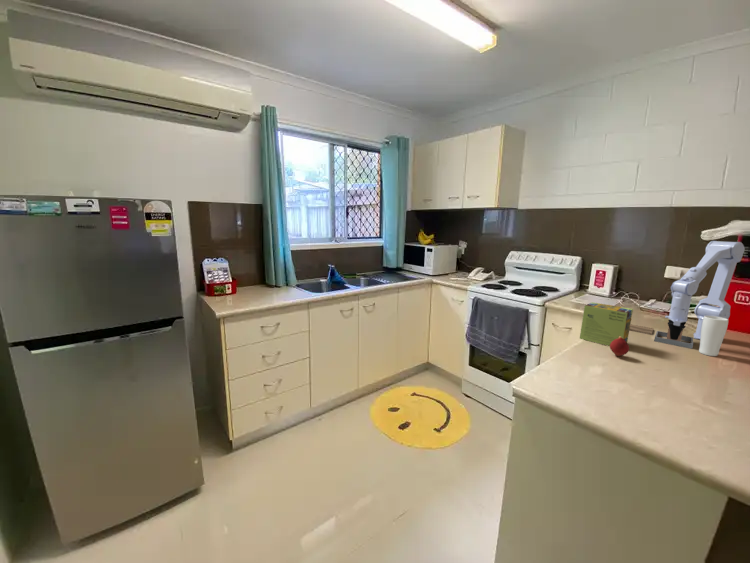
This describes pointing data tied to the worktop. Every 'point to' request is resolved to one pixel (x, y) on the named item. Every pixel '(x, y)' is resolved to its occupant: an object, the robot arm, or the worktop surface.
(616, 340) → the pomegranate
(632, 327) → the board
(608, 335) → the protein box
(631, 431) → the worktop surface
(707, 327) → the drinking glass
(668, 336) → the block
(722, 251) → the robot arm
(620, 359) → the worktop surface
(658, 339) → the square frame
